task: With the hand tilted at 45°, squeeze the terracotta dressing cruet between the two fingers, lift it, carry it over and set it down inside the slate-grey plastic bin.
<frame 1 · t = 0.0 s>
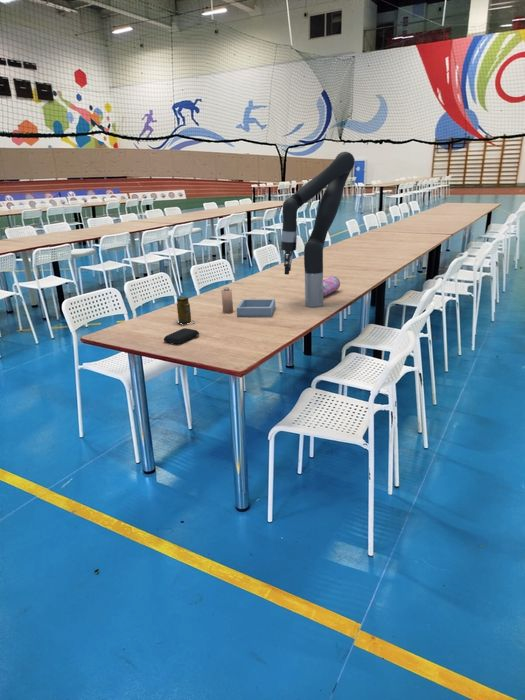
hand: (287, 272, 243), 17 cm above the table, tool pointing down, fingers open, 8 cm apart
condiment: (185, 323, 229), on the table
cruet: (228, 311, 243), on the table
bin: (256, 312, 240), on the table
pencil case: (324, 295, 266), on the table
carrying case or bag: (183, 340, 207), on the table
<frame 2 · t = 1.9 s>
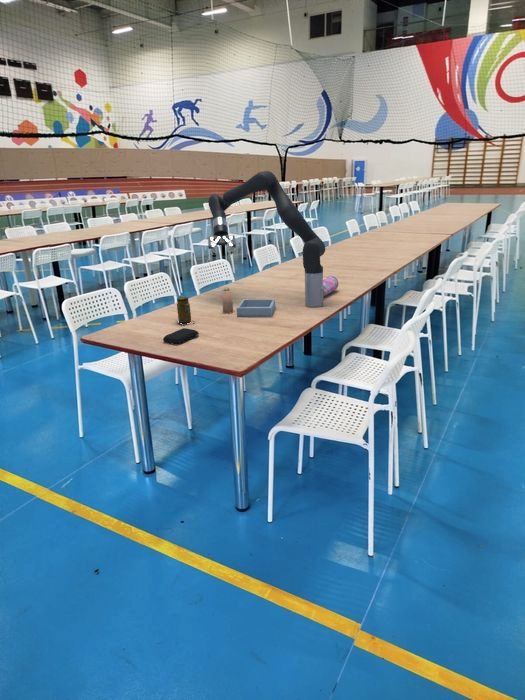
hand: (223, 254, 244), 27 cm above the table, tool tilted 45°, fingers open, 8 cm apart
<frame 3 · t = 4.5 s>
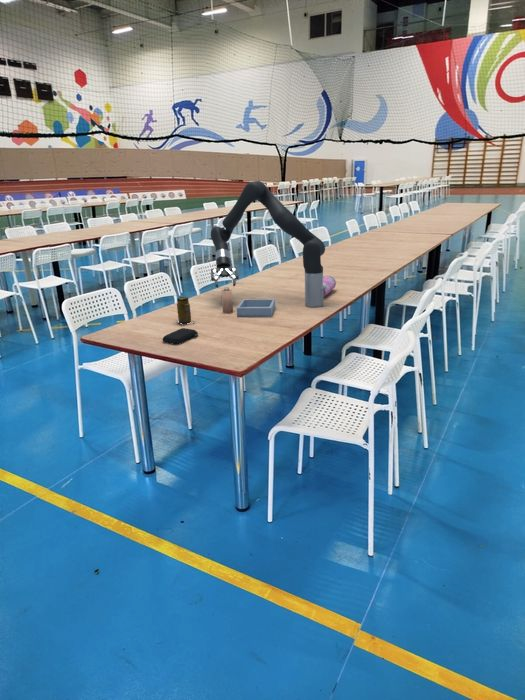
hand: (225, 286, 245), 12 cm above the table, tool tilted 45°, fingers open, 8 cm apart
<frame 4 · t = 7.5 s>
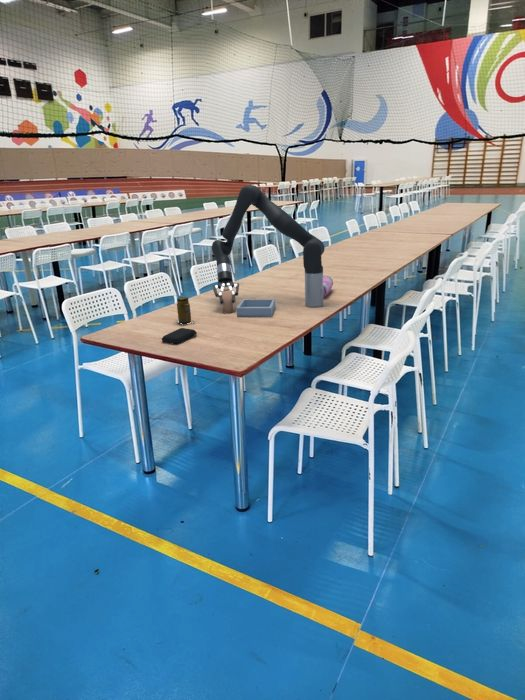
hand: (227, 302, 240), 5 cm above the table, tool tilted 45°, fingers closed on cruet, 5 cm apart
cruet: (228, 311, 243), on the table, touching gripper
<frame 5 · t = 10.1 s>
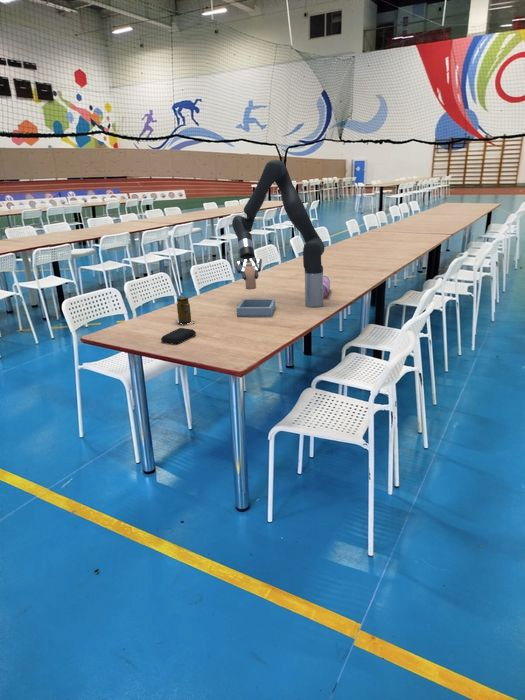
hand: (250, 278, 232), 18 cm above the table, tool tilted 45°, fingers closed on cruet, 5 cm apart
cruet: (250, 288, 236), point 12 cm above the table, touching gripper
when the fingers open (8 cm above the table, at t = 13.2 s): cruet drops 1 cm, resting on bin.
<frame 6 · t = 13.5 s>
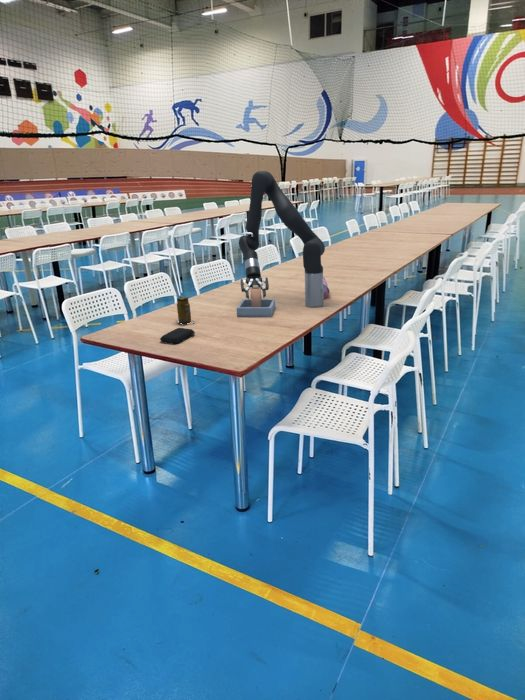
hand: (256, 297, 236), 8 cm above the table, tool tilted 45°, fingers open, 7 cm apart
cruet: (256, 310, 240), point 1 cm above the table, touching bin
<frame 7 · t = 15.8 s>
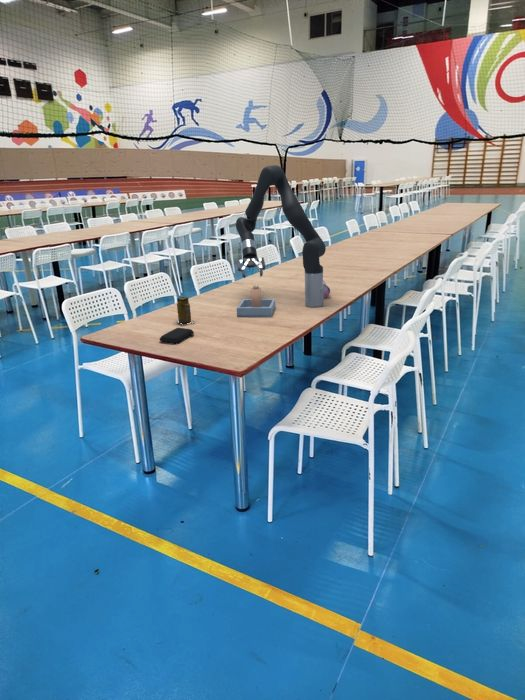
hand: (252, 276, 245), 16 cm above the table, tool tilted 45°, fingers open, 8 cm apart
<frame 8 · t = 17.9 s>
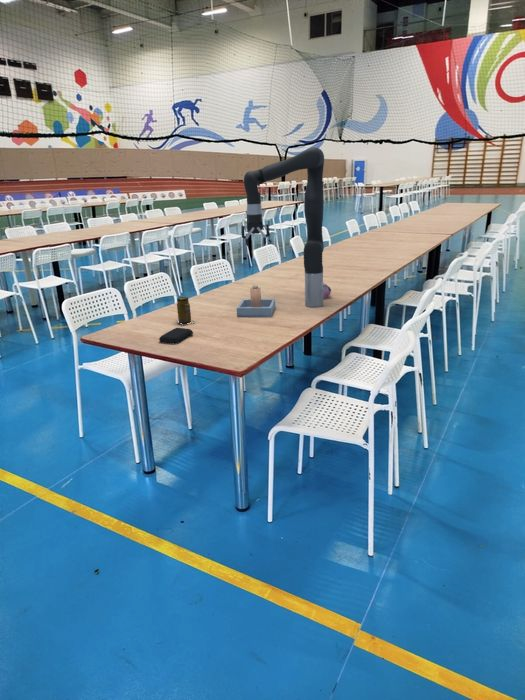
hand: (256, 245, 247), 30 cm above the table, tool pointing down, fingers open, 8 cm apart
at the end: cruet inside the target area on the bin (0.2 cm from its centre), point 1.0 cm above the bin's base; cruet tilted 1°; the gripper is holding nothing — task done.
